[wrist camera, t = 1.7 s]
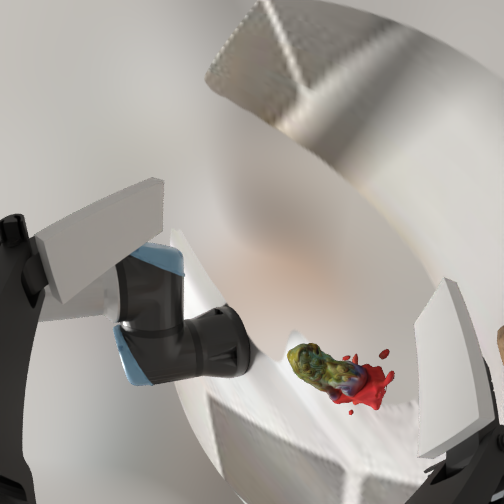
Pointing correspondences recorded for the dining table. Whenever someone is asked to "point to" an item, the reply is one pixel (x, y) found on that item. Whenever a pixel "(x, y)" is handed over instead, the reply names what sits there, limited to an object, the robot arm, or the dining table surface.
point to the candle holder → (501, 342)
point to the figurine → (340, 376)
